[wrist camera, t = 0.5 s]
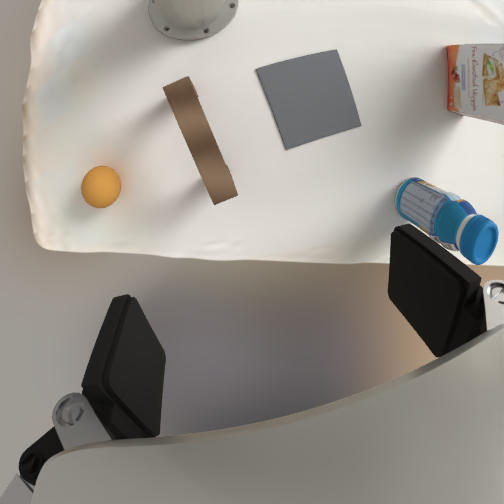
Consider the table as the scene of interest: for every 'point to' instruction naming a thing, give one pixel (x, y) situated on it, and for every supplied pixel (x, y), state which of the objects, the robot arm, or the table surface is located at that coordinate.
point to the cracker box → (476, 81)
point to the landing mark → (309, 97)
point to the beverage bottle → (447, 219)
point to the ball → (101, 187)
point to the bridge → (200, 140)
